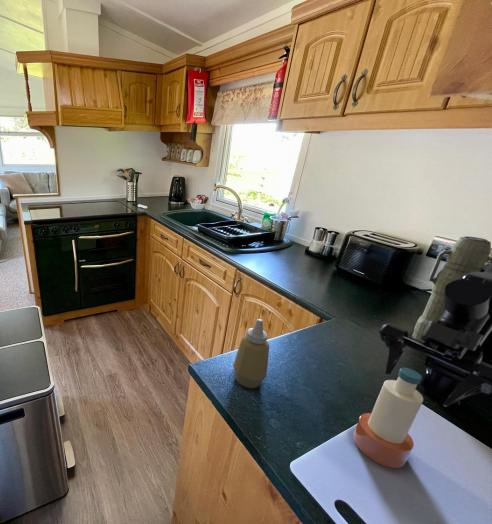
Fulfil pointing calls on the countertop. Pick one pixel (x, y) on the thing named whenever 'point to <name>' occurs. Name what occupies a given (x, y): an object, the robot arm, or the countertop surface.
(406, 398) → the cream bottle
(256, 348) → the squeeze bottle
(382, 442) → the orange short round piece
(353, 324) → the countertop surface
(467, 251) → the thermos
